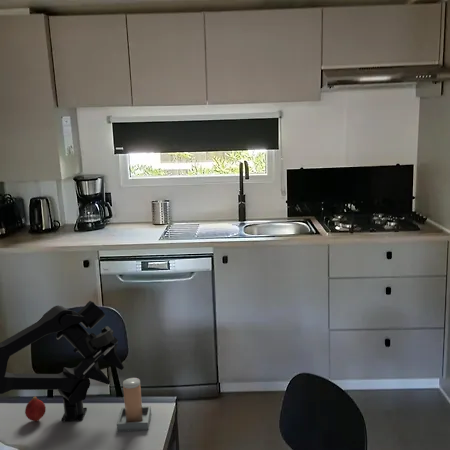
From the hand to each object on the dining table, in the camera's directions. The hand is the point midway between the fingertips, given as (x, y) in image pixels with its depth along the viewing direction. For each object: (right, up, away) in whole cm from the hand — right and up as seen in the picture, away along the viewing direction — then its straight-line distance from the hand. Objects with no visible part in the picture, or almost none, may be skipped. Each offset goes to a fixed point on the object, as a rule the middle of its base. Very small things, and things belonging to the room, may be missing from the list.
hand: (116, 375), depth 154 cm
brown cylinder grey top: (+6, -13, -1) cm, 14 cm away
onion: (-25, -15, +2) cm, 29 cm away
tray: (+6, -14, -1) cm, 15 cm away
